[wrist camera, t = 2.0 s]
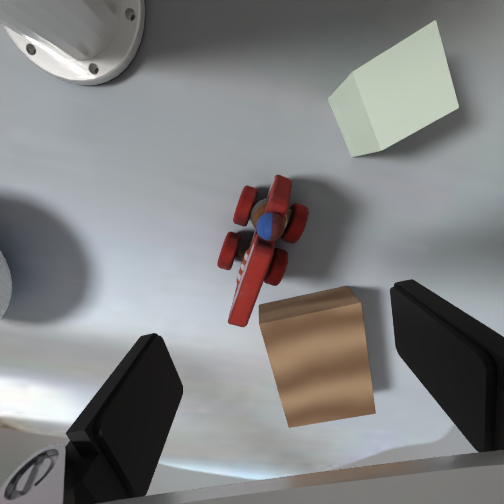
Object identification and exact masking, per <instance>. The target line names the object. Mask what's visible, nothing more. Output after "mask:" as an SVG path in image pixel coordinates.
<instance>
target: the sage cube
mask: <svg viewBox="0 0 504 504" xmlns="http://www.w3.org/2000/svg"><path fill="white" fill-rule="evenodd" d="M328 100H329V102H330V105H331V107H332V110H333V112H334V115H335V117H336V120H337V122H338V125H339V127H340V129H341V132H342V134H343V137H344V139H345V142H346V144H347V147H348V149H349V152H350V154H351V156H352V157H356V156H360V155H365V154H369V153H374V152H378V151H382V150H384V149H386V148H387V147H389V146H391V145H393V144H395V143H396V142H398V141H400V140H402V139H404V138H405V137H407V136H409V135H411V134H413V133H414V132H416V131H418V130H420V129H422V128H423V127H425V126H427V125H429V124H431V123H432V122H434V121H436V120H438V119H440V118H441V117H443V116H445V115H447V114H449V113H450V112H452V111H454V110H456V109H458V108H459V105H458V102H457V98H456V94H455V90H454V87H453V83H452V79H451V75H450V71H449V68H448V64H447V60H446V56H445V53H444V49H443V45H442V41H441V38H440V34H439V30H438V26H437V23H436V20H434V21H433V22H431V23H430V24H428V25H426V26H425V27H423V28H422V29H420V30H418V31H417V32H415V33H414V34H412V35H410V36H409V37H407V38H406V39H404V40H402V41H401V42H399V43H398V44H396V45H394V46H393V47H391V48H390V49H388V50H387V51H385V52H383V53H382V54H380V55H379V56H377V57H375V58H374V59H372V60H371V61H369V62H367V63H366V64H364V65H363V66H361V67H359V68H358V69H356V70H355V71H353V72H352V73H351V74H350V75H349V76H348V77H347V78H346V79H345V81H344V82H343V83H342V84H341V85H340V86H339V87H338V88H337V89H336V91H335V92H334V93H333V94H332V95H331V96H330V97H329V98H328Z"/></svg>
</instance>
